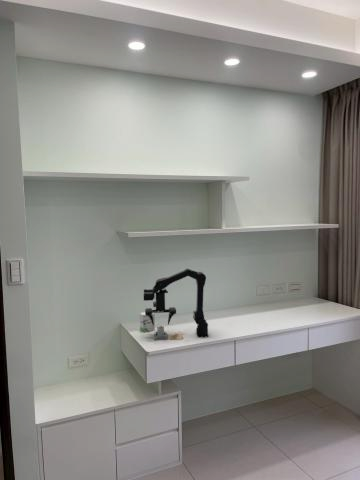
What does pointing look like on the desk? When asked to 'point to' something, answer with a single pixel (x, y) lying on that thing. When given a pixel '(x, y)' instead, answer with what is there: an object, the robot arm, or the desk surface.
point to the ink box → (146, 322)
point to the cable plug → (160, 331)
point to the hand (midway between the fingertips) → (160, 324)
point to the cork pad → (175, 336)
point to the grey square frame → (160, 337)
